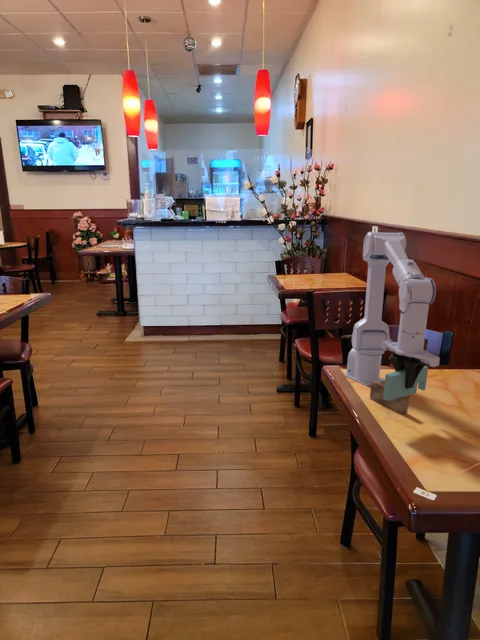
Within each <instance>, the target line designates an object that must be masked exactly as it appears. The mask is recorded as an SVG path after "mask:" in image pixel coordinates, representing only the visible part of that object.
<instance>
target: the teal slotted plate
mask: <svg viewBox="0 0 480 640" xmlns="http://www.w3.org/2000/svg"><path fill="white" fill-rule="evenodd" d="M428 370H429V366H427V365H425V366H424V368H423V369H422V370H421V372H420V373H419V375H418V377H417V379H416V381H415V384H414V386H413V388H409V389H407V388H405V378H406V370H405V369H404V370H400V371H397V372H396V371H394V372H390V373H386V374H385V375H384V376H385V377H384V379H385V381H384V384H385V385H384V395H383V399H385V400H387V401H390V400H394V399H397V398H400V397H404V396H407V395H409V396H410V395H413V394H416V393H417V390H421V391H426V387H427V380H428V379H427V377H428V372H429V371H428Z"/></svg>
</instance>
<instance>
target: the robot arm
mask: <svg viewBox="0 0 480 640" xmlns="http://www.w3.org/2000/svg"><path fill="white" fill-rule="evenodd" d="M406 247H407V238H406V235H405V234H404V233H403V232H402V231H400V232H380V231H379V232H378V231H377V232H375V231H368V232H367V233H366V235H365V237H364V240H363V248H362V250H363V251H362V260H363V261H365V262H367V277H366V292H365V304H364V314H363V315H364V316H363V318H362V319H360V320H359V321H357V322H356V323H354V326H353V329H352V330H353V331H352V333H351V345H352V346H351V347H352V348H351V350H350V351H349V352H348V354H347V355H348V356H347V363H346V365H347V366H346V373H345V374H344V377H347V378H349V379H351V380H353V381H355V382H356V383H360V384H362V385H364V386H367V387H369V386H371V381H374V380H377V381H379V382H381V383H385V378H383V377H380V376H381V365H382V356H383V354H385V352H386V351H390V352H393V353H394V354H393V355H390V361H391V362H392V364H393V367H394V368H393V369H394V372H397V371H400V370H404V369H405V370H406V378H405V388H407V389H409V388H413V386H414V384H415V381H416V379H417V377H418V375H419V373H420V372H421V370H422V369H423V368H424V366H427V365H429V367H431V368H436V367H439V366H440V359H441V357H439V356H436V355H434V354H433V353H430V352H429V351H427V350H425V349H424V347H425V346H424V345H425V339H426V331H427V323H428V315H429V308H430V305H432V304H433V303H434V302H435V299H436V296H437V295H436V293H437V289H436V288H437V287H436V283H435V281H434V279H433V278H431V277H425V276H424V274H423V273H422V271H421V270H420V268H419V266H418V265H417V263H416V262H415V260H413V259H411V258H409V257H408V255H407V252H406ZM389 263H391V265H392V266H393V268H392V271H391V273H392V275H393V278H394V279H395V281H396V283H397V285H398V287H399V288H398V299H399V307H398V309H399V311H400V318H399V327H398V335H397V342H396V341H391V337H390V336H391V335H390V328H389V326H388V324H387V323H386V322H384V321H383V317H382V315H383V307H384V306H383V305H384V293H385V282H386V269H387V268H386V267H387V266H388V264H389Z"/></svg>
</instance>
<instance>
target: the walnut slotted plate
mask: <svg viewBox="0 0 480 640" xmlns="http://www.w3.org/2000/svg"><path fill="white" fill-rule="evenodd" d="M384 385H385V383H384V382H379V381H377V380H374V381H371V385H370V391H369V399H370V400H372V401H374V402H376V403H379V404H380V405H383V407H384V406H385V407H386V408H389V409H390V410H392V411H395V412H396V413H399V414H401V415H406V414H408V410H409V409H408V408H409V402H410V395H407V396H404V397H400V398H397V399H394V400H390V401H387V400H385V399H383V395H384Z"/></svg>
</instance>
